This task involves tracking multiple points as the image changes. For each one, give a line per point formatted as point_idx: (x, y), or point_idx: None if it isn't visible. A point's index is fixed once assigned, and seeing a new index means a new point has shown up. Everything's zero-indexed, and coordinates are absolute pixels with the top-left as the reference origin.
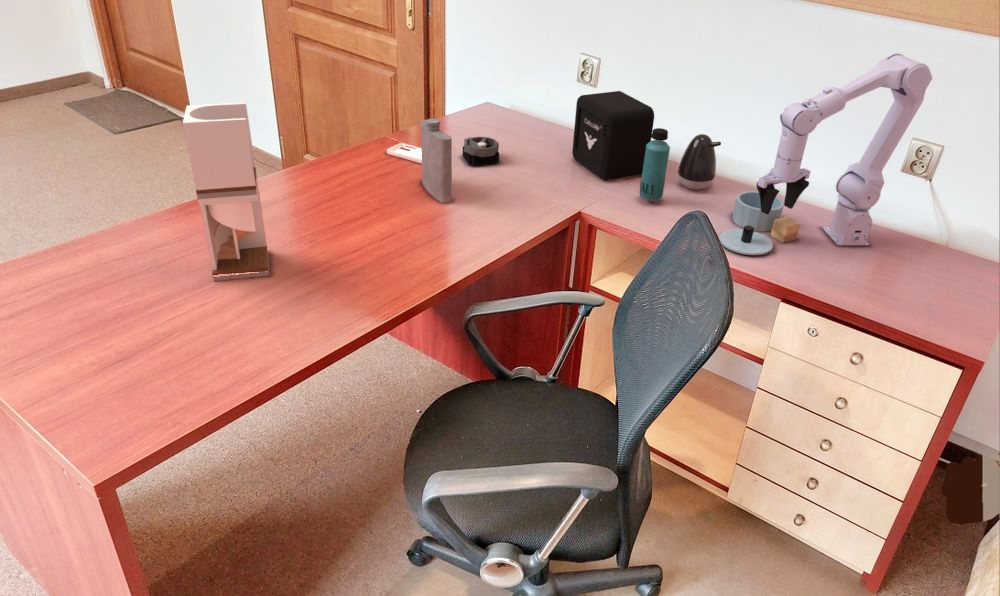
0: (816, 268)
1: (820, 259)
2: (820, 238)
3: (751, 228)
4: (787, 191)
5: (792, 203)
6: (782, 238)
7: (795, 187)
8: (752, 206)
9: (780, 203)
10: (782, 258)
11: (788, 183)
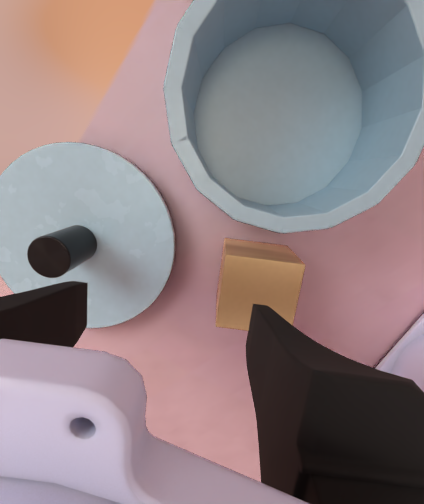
0: (172, 432)
1: (227, 411)
2: (355, 338)
3: (52, 268)
4: (272, 348)
5: (248, 372)
6: (217, 294)
7: (271, 460)
8: (345, 32)
9: (371, 184)
10: (130, 355)
11: (290, 385)
